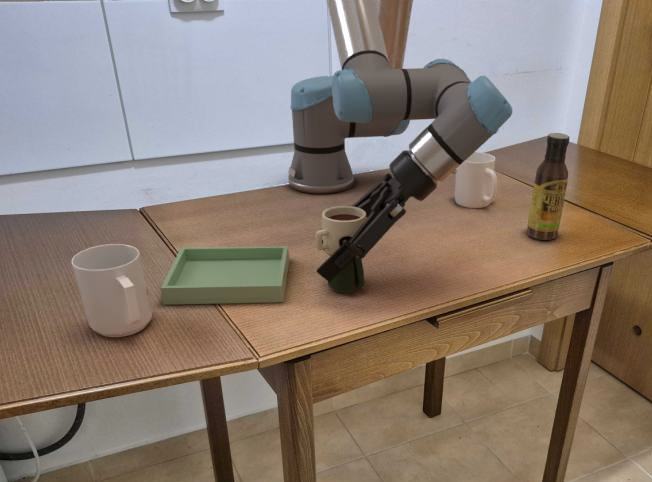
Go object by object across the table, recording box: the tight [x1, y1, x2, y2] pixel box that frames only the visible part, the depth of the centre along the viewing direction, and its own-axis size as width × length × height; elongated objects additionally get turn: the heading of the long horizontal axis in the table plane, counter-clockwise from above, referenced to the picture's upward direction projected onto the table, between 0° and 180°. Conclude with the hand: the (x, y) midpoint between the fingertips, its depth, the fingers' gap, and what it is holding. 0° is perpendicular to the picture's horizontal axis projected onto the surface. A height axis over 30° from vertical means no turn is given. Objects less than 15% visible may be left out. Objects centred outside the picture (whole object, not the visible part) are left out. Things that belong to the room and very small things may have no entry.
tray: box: [160, 245, 290, 306], centre depth 108 cm, size 16×19×3 cm
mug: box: [70, 243, 153, 338], centre depth 92 cm, size 12×9×11 cm
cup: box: [454, 151, 498, 209], centre depth 141 cm, size 8×12×10 cm
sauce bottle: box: [526, 132, 571, 241], centre depth 124 cm, size 6×6×20 cm
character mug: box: [314, 205, 368, 293], centre depth 105 cm, size 11×7×13 cm, turn 130°
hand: (323, 262), depth 105 cm, fingers open, 9 cm apart
